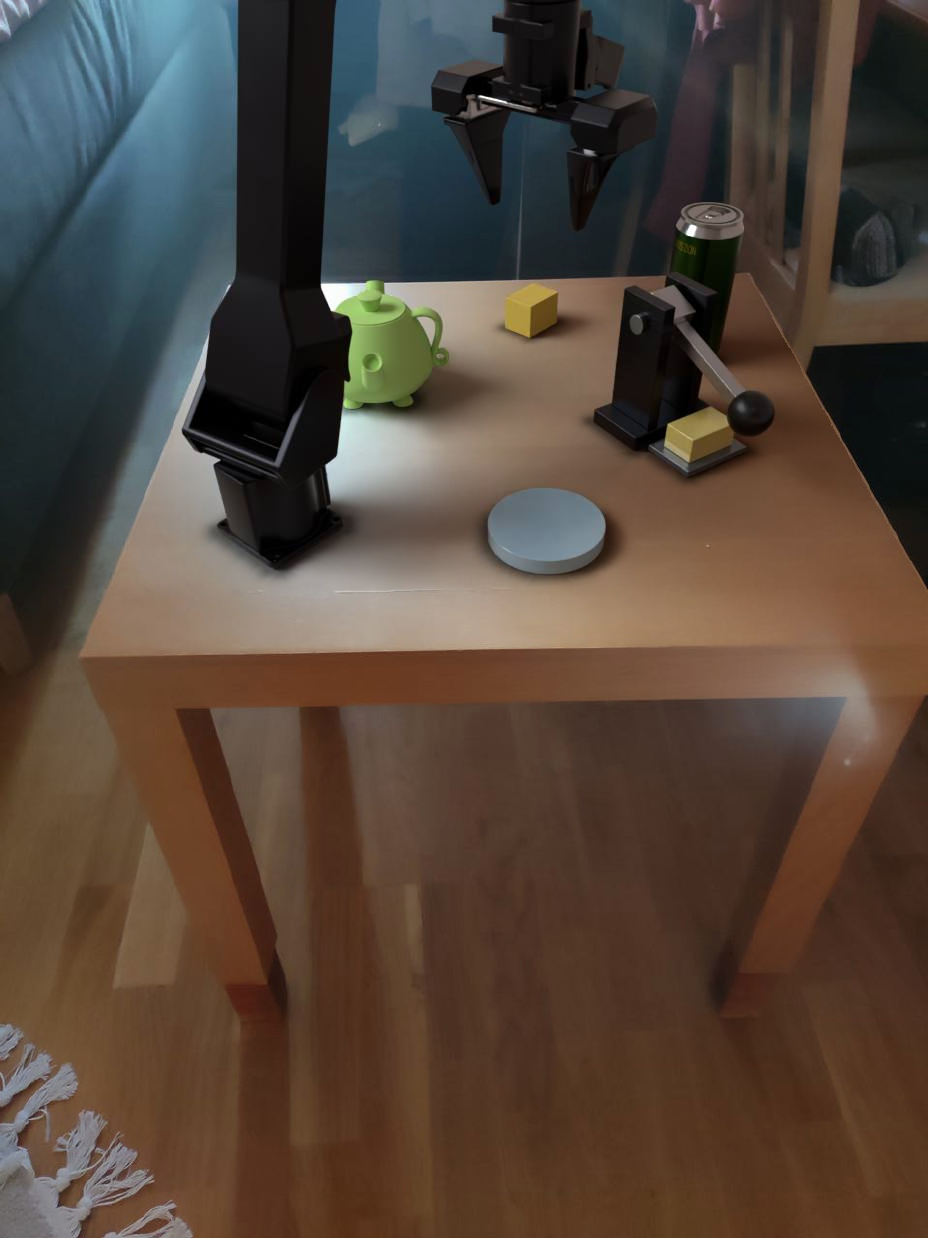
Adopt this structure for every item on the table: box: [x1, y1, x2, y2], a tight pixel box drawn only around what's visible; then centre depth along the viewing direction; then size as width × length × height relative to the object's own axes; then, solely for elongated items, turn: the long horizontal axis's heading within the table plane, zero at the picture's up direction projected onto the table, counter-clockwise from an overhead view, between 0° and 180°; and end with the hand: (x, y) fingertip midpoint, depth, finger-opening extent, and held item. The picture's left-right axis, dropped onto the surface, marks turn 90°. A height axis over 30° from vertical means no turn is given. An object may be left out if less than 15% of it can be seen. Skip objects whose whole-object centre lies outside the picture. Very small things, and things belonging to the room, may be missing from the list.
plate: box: [487, 487, 607, 575], centre depth 61 cm, size 8×8×1 cm
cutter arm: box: [650, 285, 776, 438], centre depth 63 cm, size 13×3×3 cm, turn 33°
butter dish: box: [648, 406, 748, 478], centre depth 67 cm, size 4×6×2 cm
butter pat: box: [504, 282, 559, 339], centre depth 82 cm, size 4×3×3 cm
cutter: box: [592, 272, 718, 451], centre depth 68 cm, size 5×8×11 cm, turn 123°
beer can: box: [668, 201, 745, 356], centre depth 75 cm, size 5×5×12 cm
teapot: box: [333, 279, 451, 410], centre depth 72 cm, size 11×12×8 cm
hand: (535, 216), depth 76 cm, fingers open, 9 cm apart
